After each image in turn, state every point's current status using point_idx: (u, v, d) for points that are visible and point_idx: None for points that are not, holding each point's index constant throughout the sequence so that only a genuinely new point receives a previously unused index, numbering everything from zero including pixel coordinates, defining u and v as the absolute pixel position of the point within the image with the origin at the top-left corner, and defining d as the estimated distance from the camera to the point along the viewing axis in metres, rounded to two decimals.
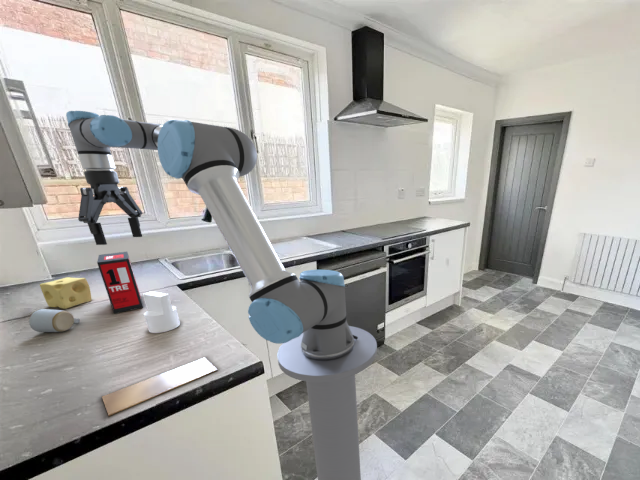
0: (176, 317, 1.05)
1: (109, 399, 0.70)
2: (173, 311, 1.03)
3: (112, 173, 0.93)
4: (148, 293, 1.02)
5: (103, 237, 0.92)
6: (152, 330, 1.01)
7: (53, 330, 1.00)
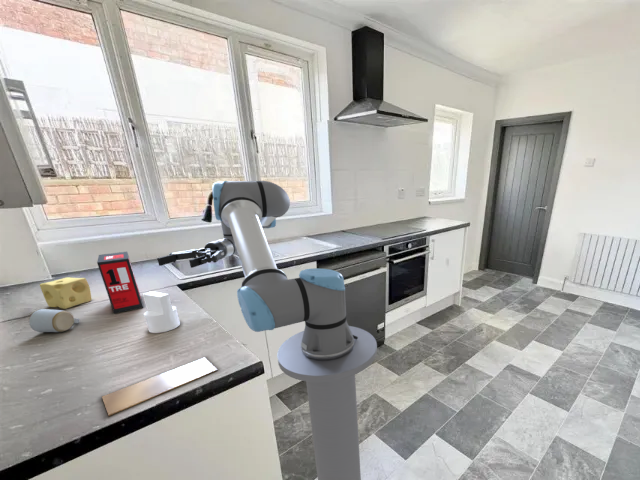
0: (176, 317, 1.05)
1: (109, 399, 0.70)
2: (173, 311, 1.03)
3: (215, 241, 1.25)
4: (148, 293, 1.02)
5: None
6: (152, 330, 1.01)
7: (53, 330, 1.00)
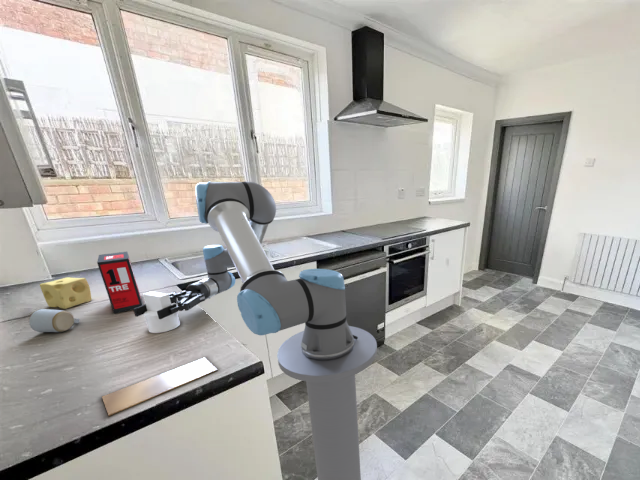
0: (176, 317, 1.05)
1: (109, 399, 0.70)
2: None
3: (197, 282, 1.18)
4: (148, 293, 1.02)
5: (140, 306, 1.02)
6: (152, 330, 1.01)
7: (53, 330, 1.00)
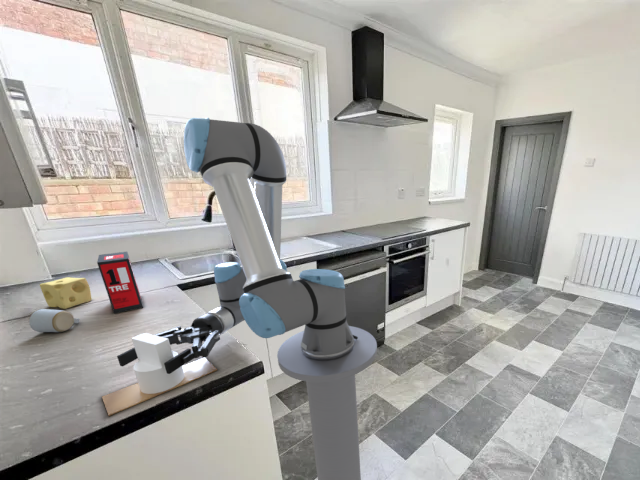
0: (179, 369, 0.75)
1: (109, 399, 0.70)
2: None
3: (207, 314, 0.88)
4: (139, 337, 0.72)
5: (127, 351, 0.73)
6: (146, 390, 0.71)
7: (53, 330, 1.00)
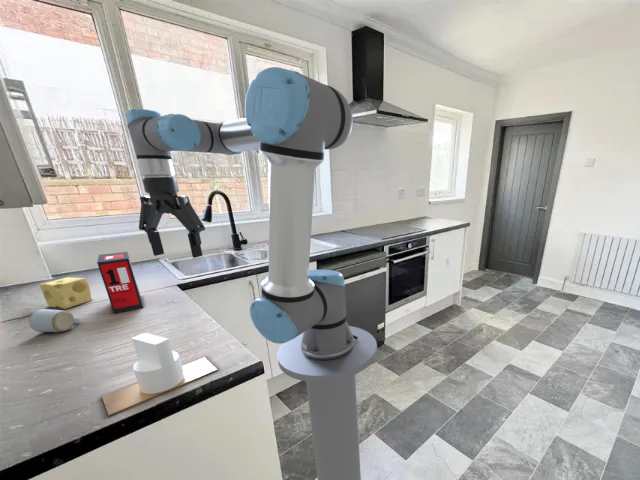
0: (179, 369, 0.75)
1: (109, 399, 0.70)
2: (175, 361, 0.74)
3: (146, 180, 0.78)
4: (139, 337, 0.72)
5: (152, 248, 0.88)
6: (146, 390, 0.71)
7: (53, 330, 1.00)
